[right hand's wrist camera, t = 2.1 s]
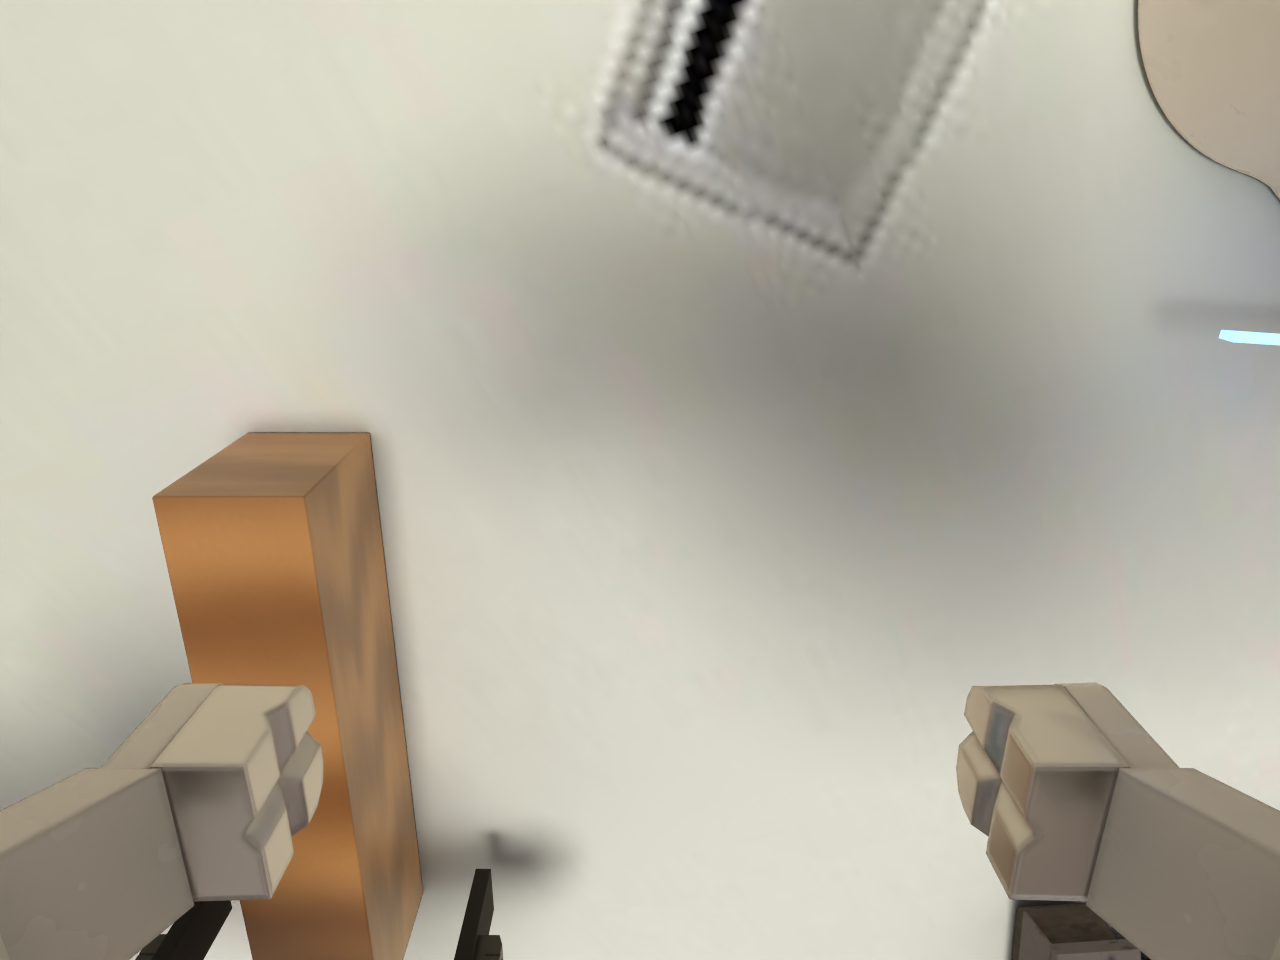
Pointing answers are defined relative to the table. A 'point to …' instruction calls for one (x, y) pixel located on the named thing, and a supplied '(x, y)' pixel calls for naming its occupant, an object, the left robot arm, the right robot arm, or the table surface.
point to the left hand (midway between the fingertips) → (353, 887)
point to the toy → (1067, 935)
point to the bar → (307, 671)
